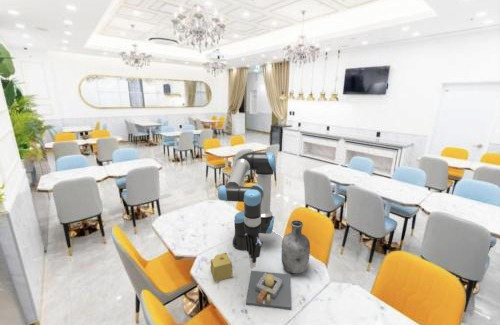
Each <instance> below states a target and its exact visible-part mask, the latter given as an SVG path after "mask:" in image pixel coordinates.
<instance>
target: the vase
mask: <svg viewBox="0 0 500 325" xmlns="http://www.w3.org/2000/svg"><path fill="white" fill-rule="evenodd" d="M290 226H291V232H289V233H286V234H285V235H284V236H283V238H282V241H281V263H282V266H283V268H284V269H285V270H286V271H288V272H289V273H294V274H300V273H303V272H305V271H306V270H307V269H308V266H309V263H310V254H311V252H310V251H311V250H310V249H311V244H310V240H309V238H308V236H306V235H305V234H304V233H302V228H303V226H304V223H303V222H302V221H301V220H298V219H297V220H296V219H295V220H292V221H291V222H290Z"/></svg>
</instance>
